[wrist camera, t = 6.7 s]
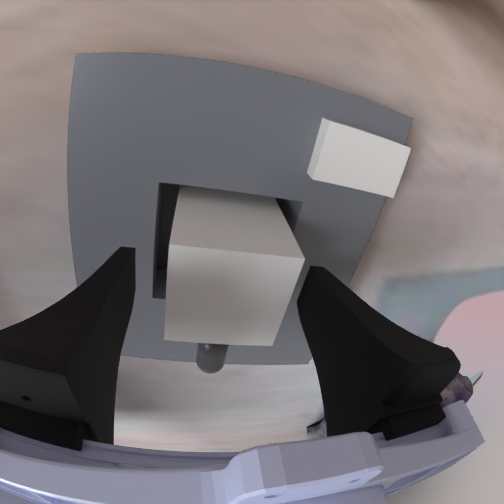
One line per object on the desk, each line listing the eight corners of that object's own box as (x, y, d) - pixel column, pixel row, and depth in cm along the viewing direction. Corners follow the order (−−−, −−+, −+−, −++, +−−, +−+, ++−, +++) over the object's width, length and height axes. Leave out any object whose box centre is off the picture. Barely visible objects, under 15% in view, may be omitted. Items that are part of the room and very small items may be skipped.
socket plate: (297, 332, 22) (311, 373, 19) (100, 316, 19) (88, 360, 16) (380, 107, 14) (423, 122, 11) (100, 55, 11) (67, 53, 7)
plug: (241, 306, 19) (254, 387, 14) (169, 300, 18) (164, 384, 13) (270, 190, 15) (304, 258, 10) (181, 178, 14) (169, 244, 9)
